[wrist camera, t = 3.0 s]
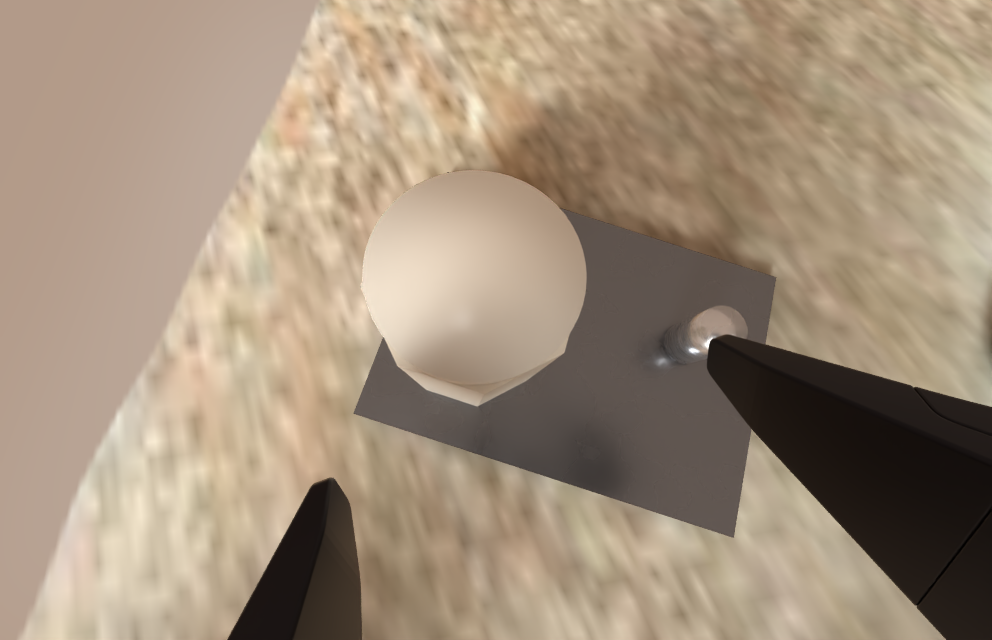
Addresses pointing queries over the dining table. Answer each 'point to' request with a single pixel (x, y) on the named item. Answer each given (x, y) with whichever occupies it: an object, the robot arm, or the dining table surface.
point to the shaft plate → (616, 384)
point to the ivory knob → (474, 283)
